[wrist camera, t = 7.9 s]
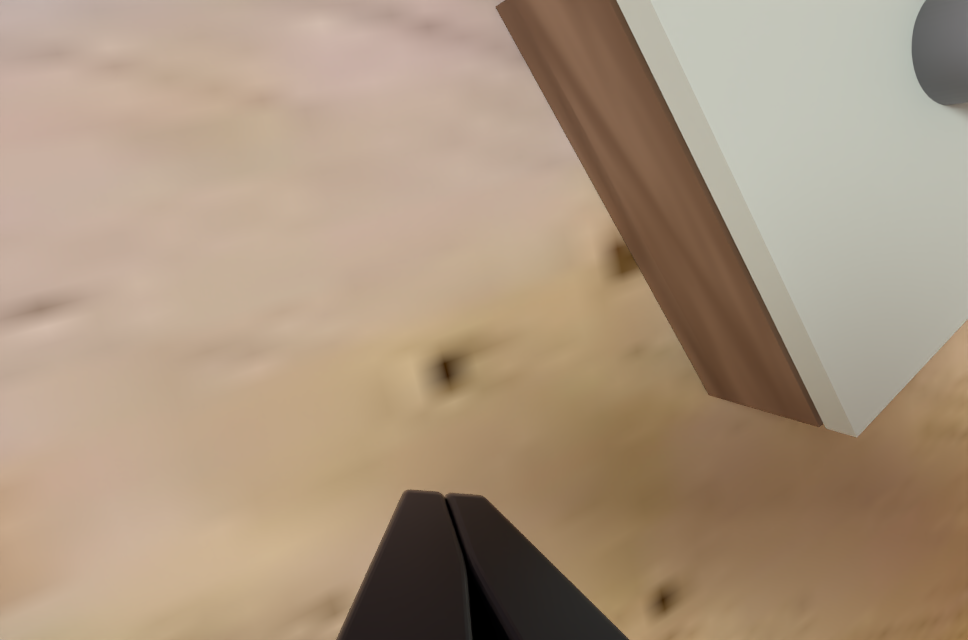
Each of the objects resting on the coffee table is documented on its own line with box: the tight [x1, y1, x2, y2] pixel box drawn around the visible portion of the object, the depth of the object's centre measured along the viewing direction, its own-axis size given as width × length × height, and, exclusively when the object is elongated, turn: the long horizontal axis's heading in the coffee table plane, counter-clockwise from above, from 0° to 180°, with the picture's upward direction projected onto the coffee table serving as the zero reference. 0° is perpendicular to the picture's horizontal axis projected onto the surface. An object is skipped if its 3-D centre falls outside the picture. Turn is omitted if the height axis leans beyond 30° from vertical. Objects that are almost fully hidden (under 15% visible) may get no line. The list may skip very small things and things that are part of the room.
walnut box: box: [496, 0, 823, 427], centre depth 23 cm, size 14×14×4 cm
